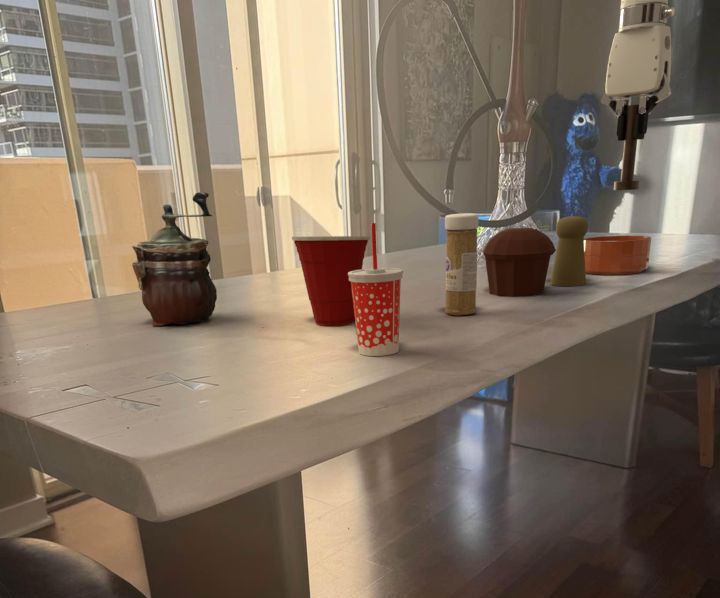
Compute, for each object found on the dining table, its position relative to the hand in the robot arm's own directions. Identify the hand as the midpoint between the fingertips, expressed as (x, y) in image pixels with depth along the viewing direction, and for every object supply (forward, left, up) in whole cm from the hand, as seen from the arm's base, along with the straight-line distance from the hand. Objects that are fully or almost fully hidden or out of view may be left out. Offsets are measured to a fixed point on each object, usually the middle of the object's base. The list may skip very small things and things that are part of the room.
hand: (630, 139), depth 126 cm
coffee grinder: (+77, +33, -23) cm, 87 cm away
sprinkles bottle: (+37, +38, -23) cm, 58 cm away
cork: (+15, +15, -23) cm, 31 cm away
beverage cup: (+50, +60, -23) cm, 81 cm away
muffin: (+25, +22, -23) cm, 40 cm away
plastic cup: (+55, +40, -23) cm, 72 cm away
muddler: (0, 0, -9) cm, 9 cm away
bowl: (+2, +3, -23) cm, 23 cm away
